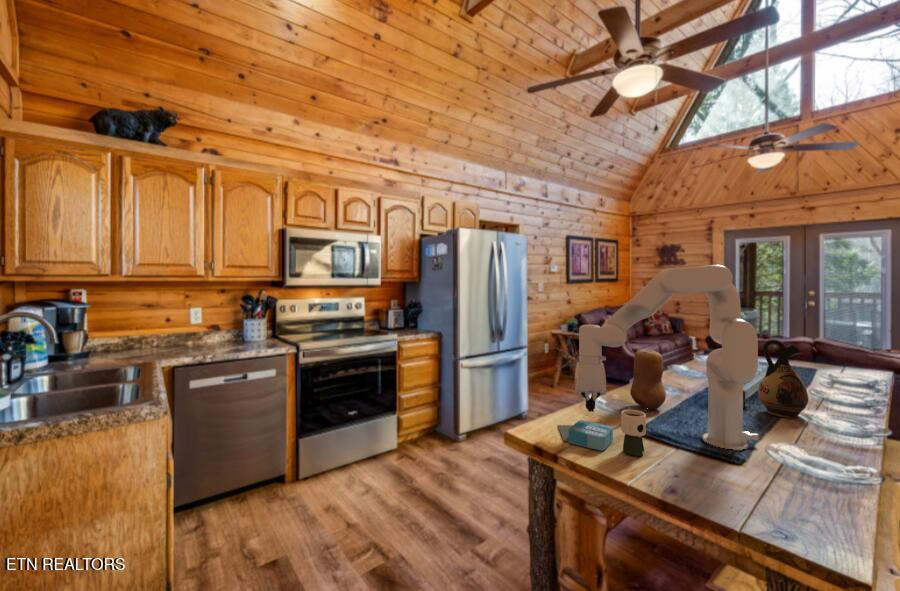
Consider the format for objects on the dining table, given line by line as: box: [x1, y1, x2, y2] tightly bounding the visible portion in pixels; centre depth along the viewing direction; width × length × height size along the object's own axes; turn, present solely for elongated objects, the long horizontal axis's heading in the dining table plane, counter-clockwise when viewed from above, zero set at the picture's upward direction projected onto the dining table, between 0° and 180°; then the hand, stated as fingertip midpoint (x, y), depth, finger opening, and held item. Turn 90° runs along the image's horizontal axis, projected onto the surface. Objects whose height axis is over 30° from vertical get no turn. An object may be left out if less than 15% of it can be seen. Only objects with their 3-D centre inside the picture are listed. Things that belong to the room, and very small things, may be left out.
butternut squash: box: [629, 348, 667, 410], centre depth 170 cm, size 14×13×25 cm
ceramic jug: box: [757, 338, 809, 420], centre depth 160 cm, size 17×15×30 cm
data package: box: [568, 419, 614, 451], centre depth 136 cm, size 12×4×12 cm
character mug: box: [620, 409, 647, 457], centre depth 127 cm, size 11×7×13 cm, turn 134°
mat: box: [557, 424, 574, 443], centre depth 144 cm, size 12×15×1 cm
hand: (590, 410), depth 143 cm, fingers closed
